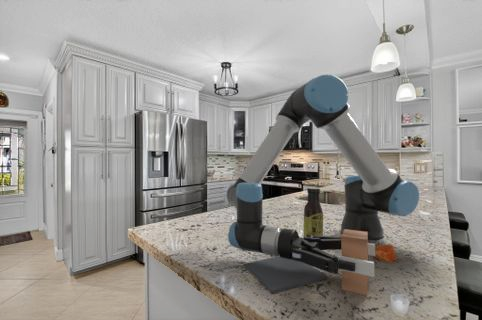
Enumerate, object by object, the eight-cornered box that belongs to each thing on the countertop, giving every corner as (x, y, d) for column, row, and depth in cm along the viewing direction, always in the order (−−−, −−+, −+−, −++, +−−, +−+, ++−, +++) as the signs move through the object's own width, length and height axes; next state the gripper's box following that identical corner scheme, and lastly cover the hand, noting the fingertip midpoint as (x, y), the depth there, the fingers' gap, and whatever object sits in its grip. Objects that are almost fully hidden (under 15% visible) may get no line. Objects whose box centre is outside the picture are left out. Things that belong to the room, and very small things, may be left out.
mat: (290, 255, 71) (290, 253, 71) (327, 277, 58) (327, 275, 58) (243, 265, 65) (243, 263, 65) (272, 293, 51) (272, 290, 51)
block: (345, 277, 58) (344, 229, 58) (368, 282, 55) (367, 231, 55) (341, 289, 53) (341, 235, 53) (367, 295, 50) (366, 239, 50)
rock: (356, 261, 69) (356, 246, 69) (366, 249, 78) (366, 236, 78) (406, 273, 61) (405, 256, 61) (410, 258, 71) (410, 244, 71)
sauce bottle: (314, 252, 74) (313, 189, 74) (299, 246, 79) (298, 187, 79) (327, 248, 77) (326, 188, 78) (312, 243, 83) (312, 186, 83)
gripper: (295, 243, 73) (375, 257, 62) (262, 274, 53) (373, 303, 42) (294, 219, 73) (375, 228, 62) (262, 241, 53) (373, 261, 42)
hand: (374, 258), depth 52 cm, fingers open, 11 cm apart
